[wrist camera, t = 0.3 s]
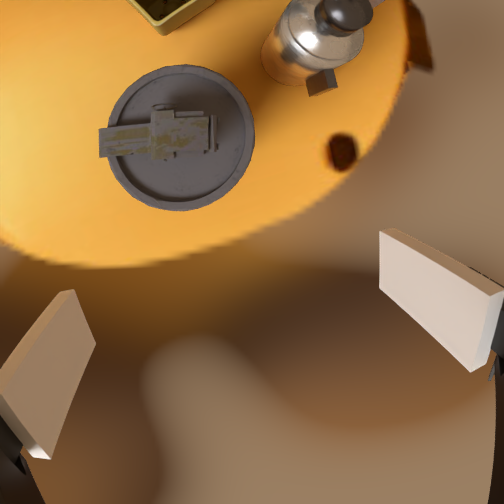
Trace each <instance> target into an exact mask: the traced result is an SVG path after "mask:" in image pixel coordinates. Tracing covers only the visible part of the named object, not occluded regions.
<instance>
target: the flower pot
mask: <svg viewBox="0 0 504 504" xmlns="http://www.w3.org/2000/svg"><path fill="white" fill-rule="evenodd" d="M126 1H127V2H128V3H129V4H130V5H132V6H133V7H134V8H135V9H136V10H137V11H138V12H139V13H140V14H141V15H142V16H143V17H144V18H145V19H146V20H147V21H148V22H149V23H150V24H151V26H152V27H153V28H154V29H155V30H156V31H157V32H158V33H159V34H160V35H162V36H166V35H168V34H170V33H171V32H172V31H174V30H175V29H176V28H178V27H179V26H181V25H182V24H183V23H185V22H186V21H188V20H189V19H191V18H192V17H194V16H195V15H197V14H199V13H200V12H202V11H203V10H205V9H207V8H208V7H209V6H211V5H212V4H213V3H214V2H215V1H216V0H126ZM163 1H167V3H166V4H163ZM181 1H185V3H184V4H181ZM161 15H164V18H160V16H161Z"/></svg>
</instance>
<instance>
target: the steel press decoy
mask: <svg viewBox="0 0 504 504" xmlns="http://www.w3.org/2000/svg"><path fill="white" fill-rule="evenodd" d="M372 17H373V9H372V6H371V4H370V2H369V0H292V1H291V2H290V3H289V5H288V6H287V7H286V9H285V11H284V12H283V14H282V15H281V17H280V18H279V20H278V21H277V23H276V24H275V26H274V27H273V29H272V31H271V32H270V34H269V35H268V37H267V39H266V40H265V42H264V43H263V46H262V48H261V62H262V65H263V67H264V69H265V71H266V72H267V73H268V74H269V76H271V77H272V78H273V79H274V80H276V81H277V82H279V83H282V84H284V85H288V86H301V85H305V84H306V85H307V89H308V93H309V97H311V96H318V95H320V94H323V93H325V92H327V91H330V90H333V89H335V88H338V86H337V82H336V78H335V74H334V70H333V69H335V68H337V67H339V66H341V65H343V64H345V63H347V62H348V61H350V60H352V59H353V58H355V57H356V56H357V55H358V53H359V52H360V50H361V49H362V46H363V42H364V31H363V27H364V26H366V25H367V24H368V23H370V21H371V20H372Z"/></svg>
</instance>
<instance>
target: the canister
mask: <svg viewBox="0 0 504 504" xmlns="http://www.w3.org/2000/svg"><path fill="white" fill-rule="evenodd" d="M254 144H255V130H254V119H253V116H252V113H251V111H250V108H249V105H248V103H247V101H246V99H245V98H244V96H243V95H242V93H241V92H240V91H239V90H238V88H237V87H236V86H235V85H234V84H233V83H232V82H230V81H229V80H228V79H226V78H225V77H224V76H222V75H221V74H219V73H217V72H214V71H212V70H210V69H207V68H205V67H201V66H195V65H188V64H184V65H174V66H165V67H162V68H160V69H157V70H155V71H152V72H150V73H148V74H145V75H143V76H142V77H141V78H139V79H138V80H137V81H136V82H134V83H133V84H132V85H130V86H129V87H128V88H127V89H126V91H125V92H124V93H123V94H122V96H121V97H120V98H119V100H118V101H117V102H116V104H115V106H114V108H113V111H112V113H111V115H110V118H109V122H108V127H107V128H101V129H99V158H102V157H108V161H109V164H110V167H111V170H112V172H113V173H114V175H115V177H116V179H117V180H118V182H119V183H120V184H121V185H122V186H123V187H124V189H125V190H126V191H127V192H128V193H129V194H130V195H131V196H132V197H134V198H136V199H137V200H139V201H141V202H143V203H145V204H146V205H148V206H151V207H155V208H158V209H164V210H170V211H188V210H193V209H198V208H201V207H204V206H206V205H209V204H211V203H213V202H214V201H216V200H218V199H220V198H221V197H223V196H224V195H225V194H226V193H228V192H229V191H230V190H231V189H232V188H233V187H234V186H235V185H236V184H237V183H238V181H239V180H240V179H241V177H242V176H243V175H244V173H245V171H246V169H247V167H248V165H249V163H250V161H251V157H252V153H253V149H254Z"/></svg>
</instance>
